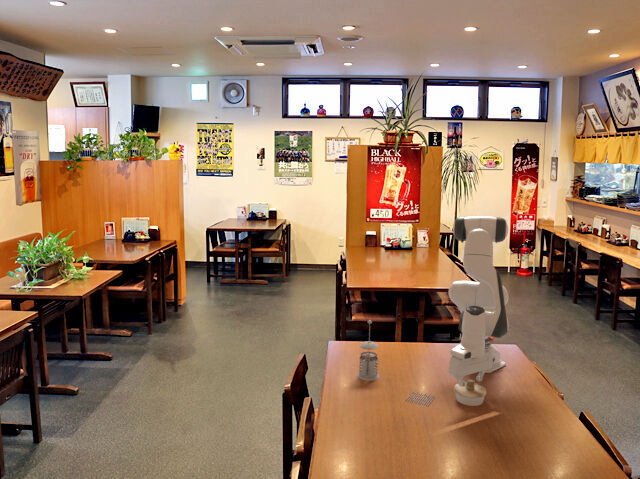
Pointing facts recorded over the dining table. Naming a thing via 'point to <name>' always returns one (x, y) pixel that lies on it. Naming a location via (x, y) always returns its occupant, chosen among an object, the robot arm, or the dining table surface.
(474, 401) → the ramekin
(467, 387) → the drop lid
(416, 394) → the woven mat
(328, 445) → the dining table surface
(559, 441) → the dining table surface
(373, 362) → the french press
